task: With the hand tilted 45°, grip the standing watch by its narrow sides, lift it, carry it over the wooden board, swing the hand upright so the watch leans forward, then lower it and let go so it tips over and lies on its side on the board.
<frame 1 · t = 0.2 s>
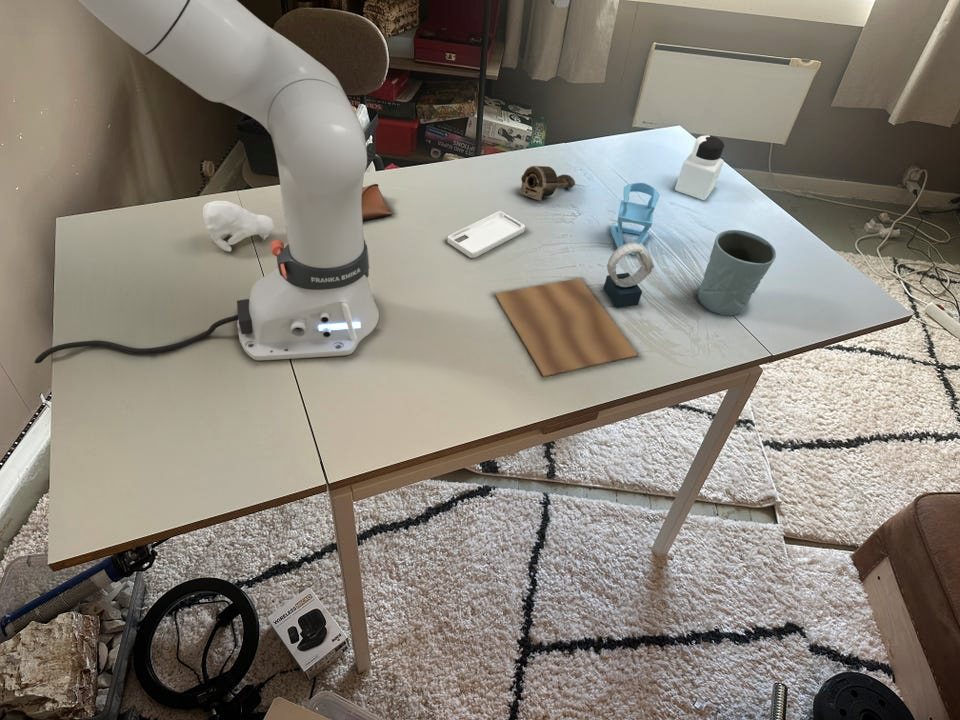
medicine bottle: (693, 190, 146), on the table
sunglasses case: (345, 216, 128), on the table
phone case: (486, 237, 126), on the table
grey-green cylindrical cup: (722, 301, 117), on the table
wooden board: (563, 324, 109), on the table
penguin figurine: (244, 241, 120), on the table
chair: (627, 243, 129), on the table
mechanical counter: (548, 195, 140), on the table
watch: (620, 297, 116), on the table
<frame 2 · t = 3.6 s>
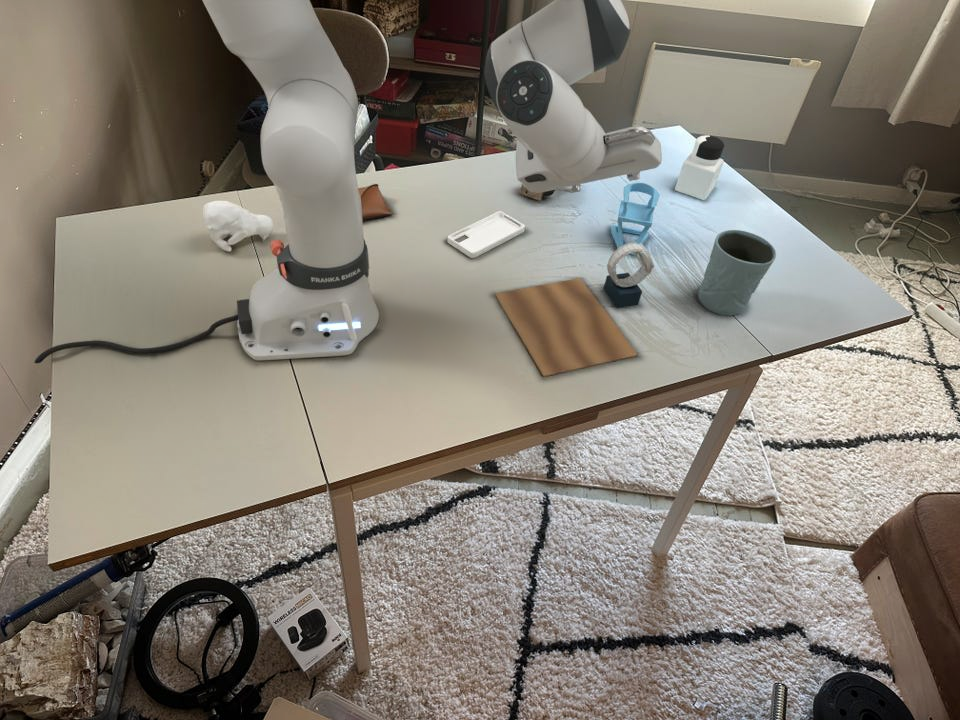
hand: (604, 181, 100), 23 cm above the table, tool tilted 50°, fingers open, 8 cm apart
nothing on the table moved.
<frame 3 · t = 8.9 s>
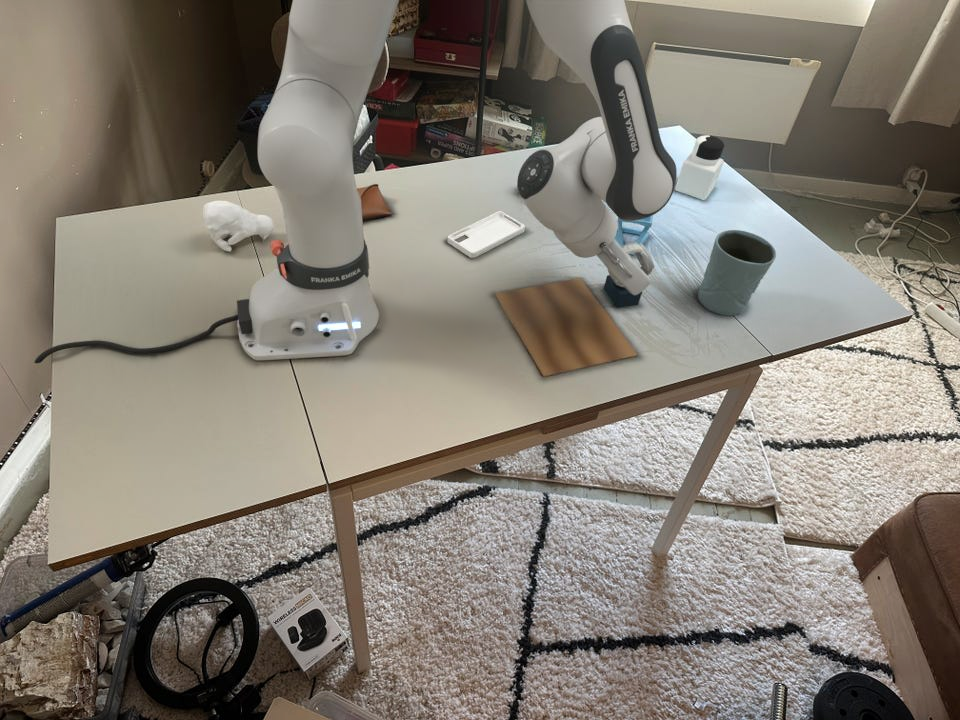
hand: (627, 268, 111), 6 cm above the table, tool tilted 45°, fingers closed on watch, 4 cm apart
watch: (620, 297, 116), on the table, touching gripper
everything else where it was.
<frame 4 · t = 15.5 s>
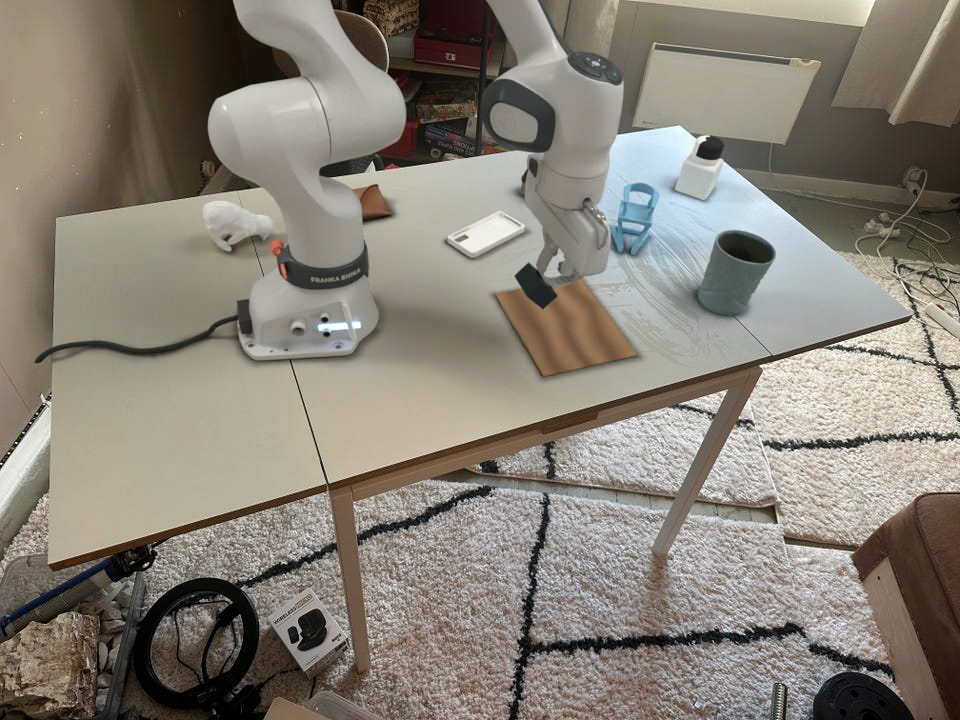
hand: (556, 263, 98), 14 cm above the table, tool pointing down, fingers closed on watch, 3 cm apart
watch: (527, 293, 100), point 9 cm above the table, touching gripper
everything else where it was.
when the fingers open (7 cm above the table, at t = 18.1 s): watch moves 3 cm, resting on wooden board.
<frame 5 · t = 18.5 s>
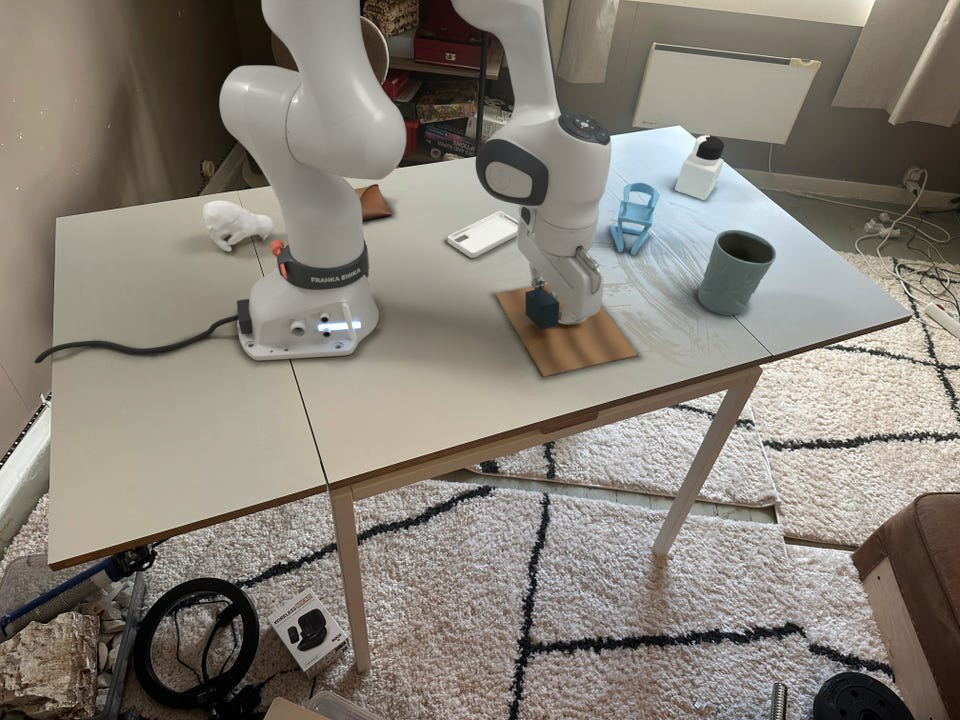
hand: (550, 303, 103), 7 cm above the table, tool pointing down, fingers open, 7 cm apart
watch: (532, 311, 104), point 4 cm above the table, touching wooden board
everything else where it was.
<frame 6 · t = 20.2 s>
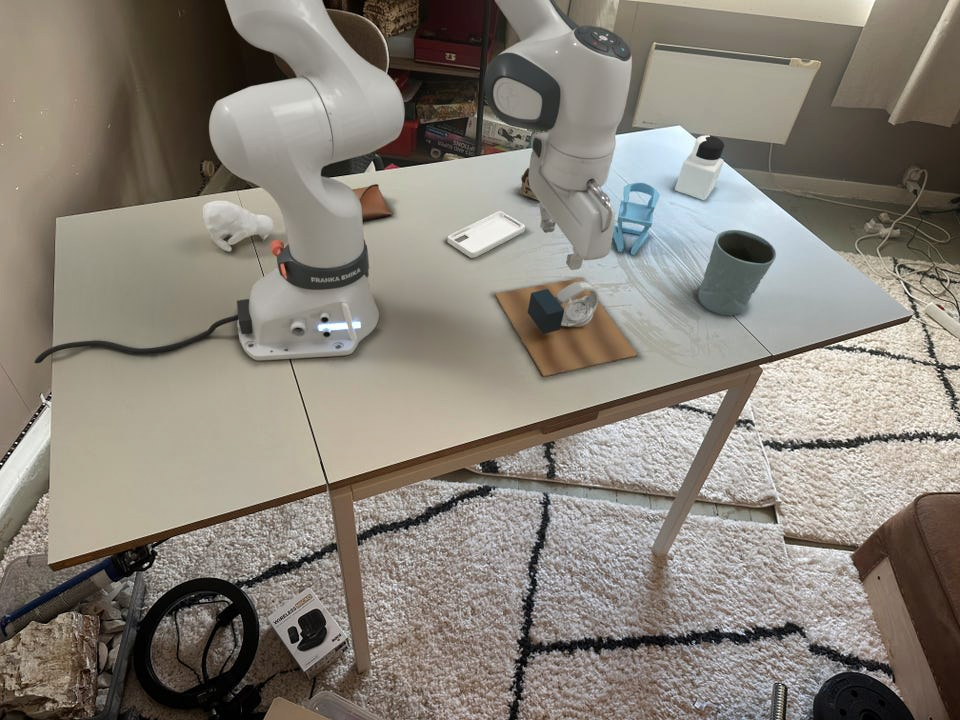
hand: (559, 247, 95), 17 cm above the table, tool pointing down, fingers open, 8 cm apart
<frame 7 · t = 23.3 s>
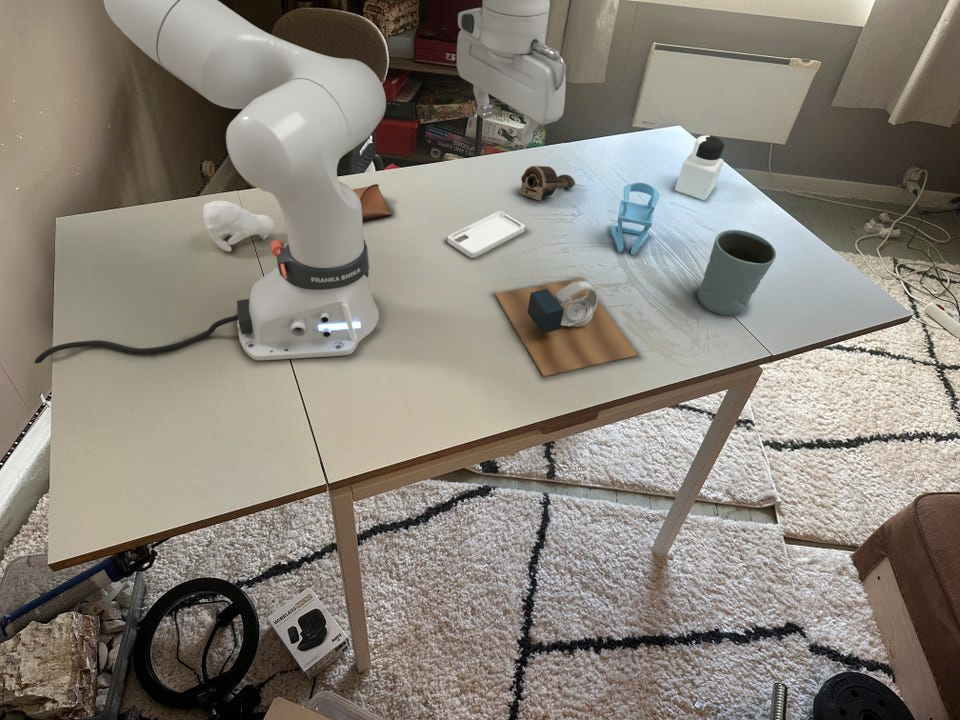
hand: (503, 128, 95), 29 cm above the table, tool pointing down, fingers open, 8 cm apart
nothing on the table moved.
at the end: watch tilted 90°; watch inside the target area (5.7 cm from its centre), point 4.4 cm above the table; the gripper is holding nothing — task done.
